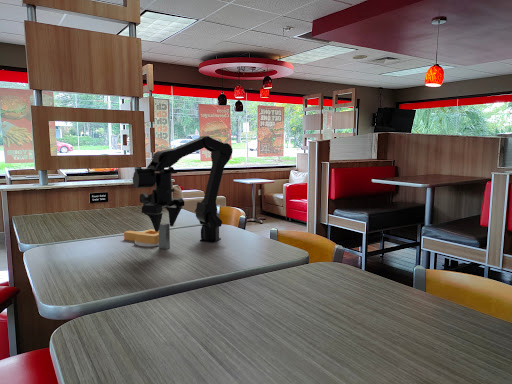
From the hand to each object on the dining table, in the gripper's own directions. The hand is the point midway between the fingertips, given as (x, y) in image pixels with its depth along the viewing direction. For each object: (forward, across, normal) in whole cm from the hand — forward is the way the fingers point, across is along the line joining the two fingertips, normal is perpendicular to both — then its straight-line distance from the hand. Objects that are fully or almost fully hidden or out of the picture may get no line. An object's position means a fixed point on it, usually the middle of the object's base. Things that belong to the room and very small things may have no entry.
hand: (164, 228), depth 136 cm
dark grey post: (+7, 0, 0) cm, 7 cm away
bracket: (+7, -5, -12) cm, 15 cm away
